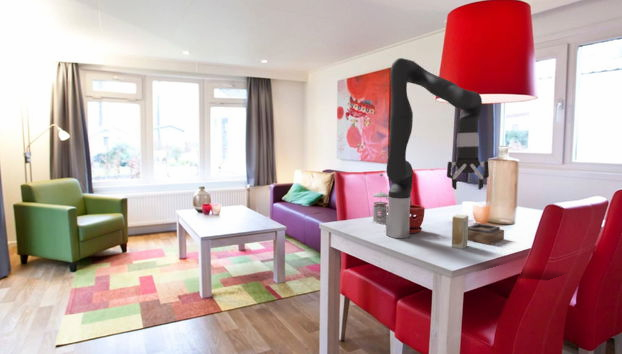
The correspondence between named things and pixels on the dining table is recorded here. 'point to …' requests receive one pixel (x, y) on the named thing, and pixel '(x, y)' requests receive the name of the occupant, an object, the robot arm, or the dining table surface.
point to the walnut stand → (485, 233)
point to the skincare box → (460, 231)
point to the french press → (380, 208)
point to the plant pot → (416, 218)
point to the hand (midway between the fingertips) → (467, 189)
